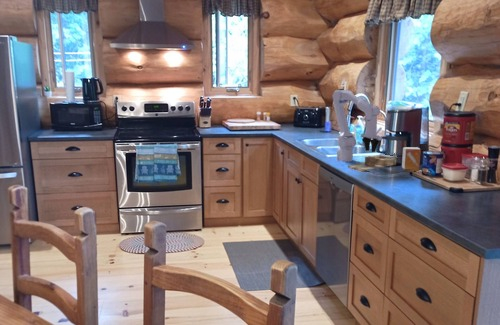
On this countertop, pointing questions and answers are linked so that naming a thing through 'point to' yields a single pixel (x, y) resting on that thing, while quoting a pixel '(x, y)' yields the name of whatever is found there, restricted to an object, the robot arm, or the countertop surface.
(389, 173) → the countertop surface
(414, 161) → the small box
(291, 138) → the countertop surface
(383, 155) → the lid
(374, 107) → the robot arm
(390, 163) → the puzzle board
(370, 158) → the walnut block
